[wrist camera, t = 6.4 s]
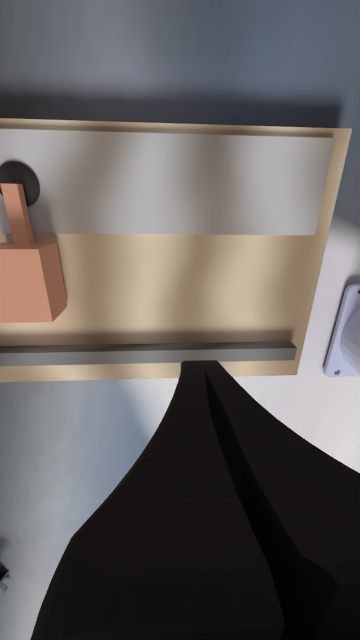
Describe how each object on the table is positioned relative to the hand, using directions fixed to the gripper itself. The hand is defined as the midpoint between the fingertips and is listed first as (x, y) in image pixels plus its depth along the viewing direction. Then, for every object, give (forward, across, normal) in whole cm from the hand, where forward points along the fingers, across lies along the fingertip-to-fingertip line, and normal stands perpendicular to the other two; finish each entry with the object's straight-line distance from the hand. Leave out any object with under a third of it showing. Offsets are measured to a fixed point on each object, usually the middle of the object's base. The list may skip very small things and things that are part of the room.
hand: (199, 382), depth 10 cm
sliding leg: (+8, +9, -3) cm, 13 cm away
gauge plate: (+10, +5, -2) cm, 12 cm away
